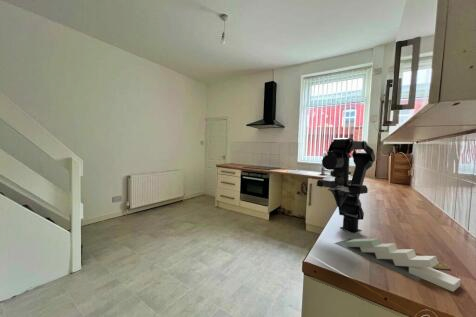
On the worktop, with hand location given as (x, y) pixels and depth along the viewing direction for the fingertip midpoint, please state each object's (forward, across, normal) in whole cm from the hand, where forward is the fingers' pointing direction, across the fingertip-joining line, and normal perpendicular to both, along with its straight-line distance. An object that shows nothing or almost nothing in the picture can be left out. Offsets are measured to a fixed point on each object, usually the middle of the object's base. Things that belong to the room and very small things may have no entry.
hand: (339, 207), depth 82 cm
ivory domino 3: (+11, +22, -3) cm, 25 cm away
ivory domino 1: (+11, +12, -3) cm, 17 cm away
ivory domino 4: (+11, +26, -3) cm, 28 cm away
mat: (+12, +16, -3) cm, 21 cm away
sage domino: (+11, +8, -3) cm, 14 cm away
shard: (+13, +25, +7) cm, 29 cm away
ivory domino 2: (+11, +17, -3) cm, 20 cm away
